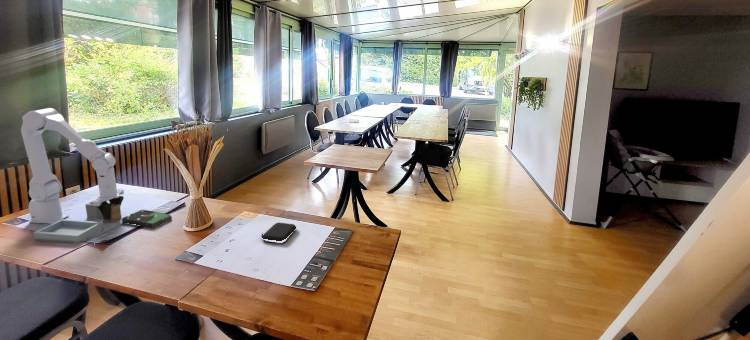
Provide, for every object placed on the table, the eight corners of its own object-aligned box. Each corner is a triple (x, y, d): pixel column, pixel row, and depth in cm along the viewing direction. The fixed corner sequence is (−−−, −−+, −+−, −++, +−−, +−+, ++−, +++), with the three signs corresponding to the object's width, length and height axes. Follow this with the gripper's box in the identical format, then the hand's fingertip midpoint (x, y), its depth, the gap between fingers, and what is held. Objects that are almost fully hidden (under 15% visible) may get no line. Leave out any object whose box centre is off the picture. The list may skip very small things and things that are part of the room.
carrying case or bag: (273, 227, 159) (257, 242, 145) (273, 220, 158) (257, 235, 144) (298, 230, 158) (284, 246, 144) (298, 223, 157) (284, 238, 143)
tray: (34, 240, 137) (33, 232, 136) (62, 226, 148) (61, 219, 148) (78, 243, 136) (77, 235, 136) (103, 229, 148) (102, 222, 147)
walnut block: (102, 221, 155) (100, 207, 153) (110, 217, 159) (108, 203, 157) (113, 222, 154) (111, 207, 153) (121, 217, 159) (119, 203, 157)
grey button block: (87, 218, 157) (85, 204, 155) (95, 213, 161) (93, 200, 160) (98, 219, 157) (96, 205, 155) (106, 214, 161) (104, 201, 159)
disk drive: (121, 224, 154) (153, 230, 151) (121, 218, 153) (152, 223, 150) (142, 215, 164) (172, 220, 161) (141, 209, 163) (171, 213, 160)
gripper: (103, 191, 145) (108, 224, 149) (129, 179, 159) (133, 210, 163) (85, 189, 146) (90, 223, 149) (112, 178, 160) (116, 209, 163)
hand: (111, 216), depth 156 cm, fingers closed on walnut block, 4 cm apart
